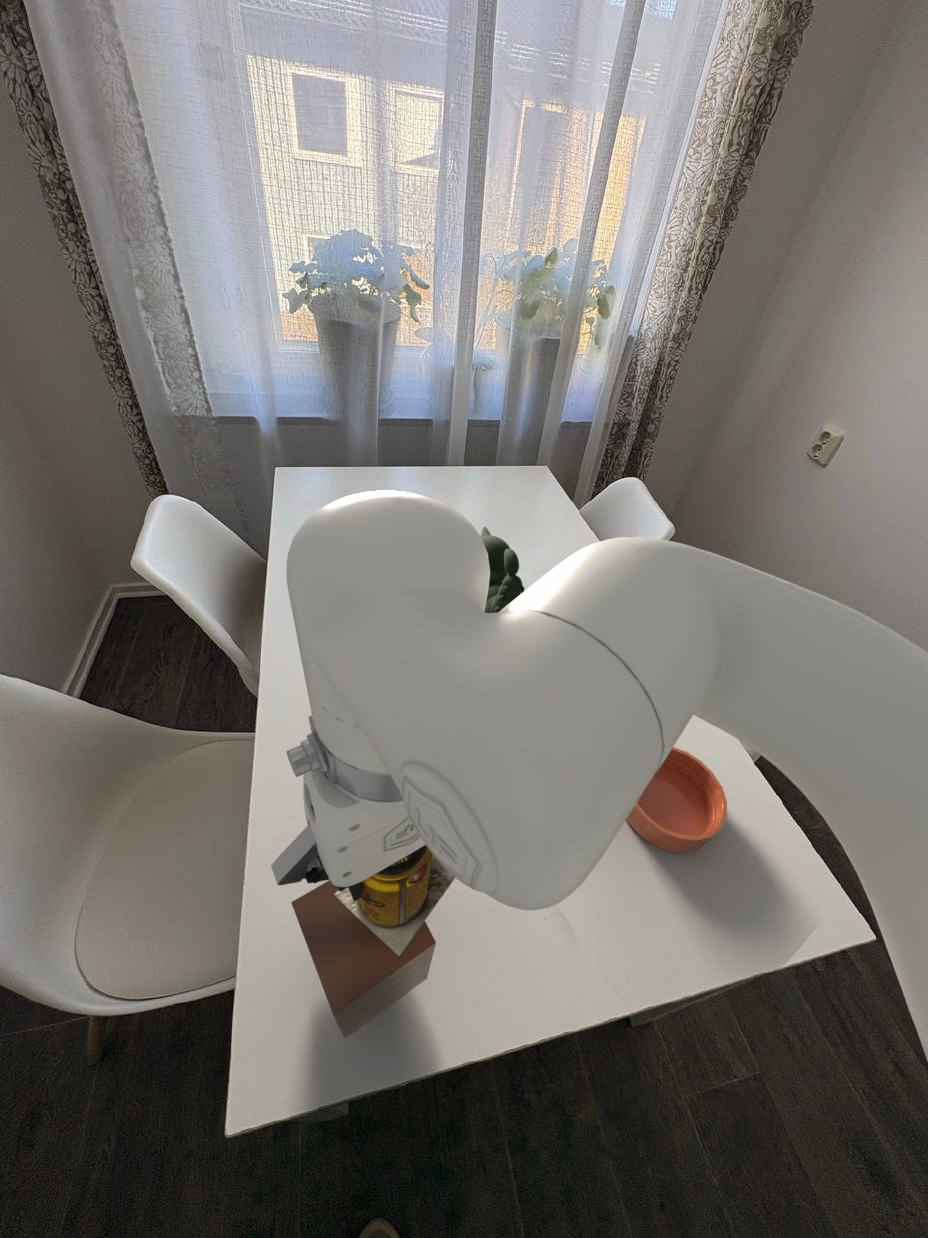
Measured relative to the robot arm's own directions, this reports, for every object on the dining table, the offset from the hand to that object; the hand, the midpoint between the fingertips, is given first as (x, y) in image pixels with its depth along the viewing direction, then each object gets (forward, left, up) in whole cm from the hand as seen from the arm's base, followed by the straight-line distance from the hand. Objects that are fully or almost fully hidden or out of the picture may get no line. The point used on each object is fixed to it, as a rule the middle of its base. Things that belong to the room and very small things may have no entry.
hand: (390, 855), depth 39 cm
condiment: (0, -1, -7) cm, 8 cm away
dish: (-4, -43, -29) cm, 53 cm away
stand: (0, +3, -29) cm, 30 cm away
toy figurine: (+45, -45, -30) cm, 70 cm away
